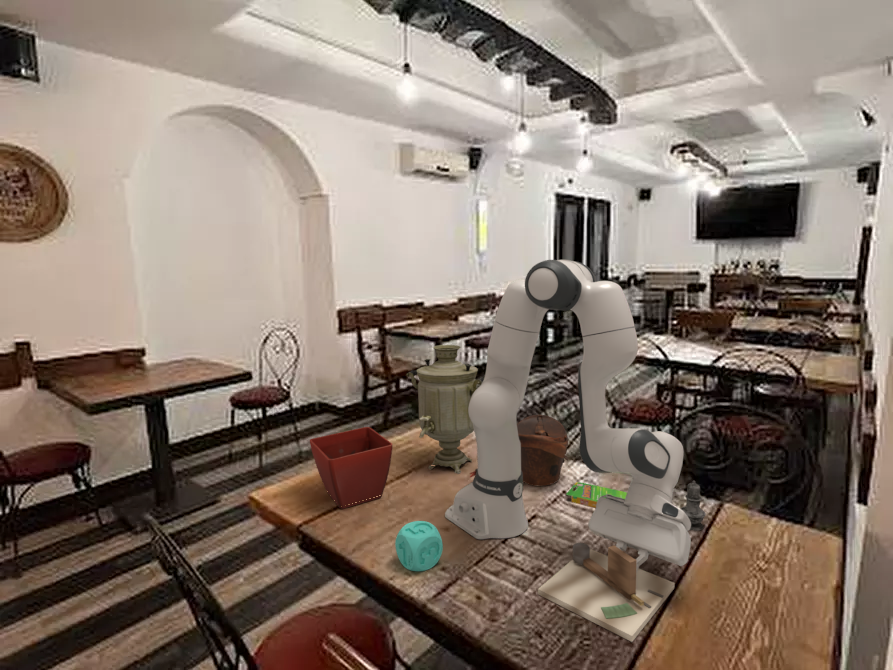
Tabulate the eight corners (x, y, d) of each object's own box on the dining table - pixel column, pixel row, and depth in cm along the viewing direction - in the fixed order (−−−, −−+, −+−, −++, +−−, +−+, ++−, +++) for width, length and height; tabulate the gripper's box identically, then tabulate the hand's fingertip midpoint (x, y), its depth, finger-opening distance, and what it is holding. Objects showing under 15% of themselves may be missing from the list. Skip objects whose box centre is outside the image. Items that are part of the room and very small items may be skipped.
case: (532, 497, 148) (532, 436, 146) (498, 471, 167) (497, 417, 164) (582, 485, 155) (583, 427, 153) (544, 462, 174) (545, 410, 171)
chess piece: (708, 532, 127) (710, 486, 126) (682, 530, 129) (684, 484, 127) (701, 519, 133) (703, 475, 131) (677, 518, 134) (678, 474, 133)
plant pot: (332, 518, 140) (328, 459, 138) (312, 492, 157) (308, 438, 154) (396, 499, 150) (394, 444, 147) (371, 476, 166) (368, 426, 164)
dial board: (537, 594, 106) (537, 588, 106) (586, 552, 121) (586, 546, 120) (632, 642, 93) (632, 635, 93) (674, 588, 107) (674, 582, 107)
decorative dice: (395, 560, 120) (394, 528, 119) (423, 547, 125) (422, 516, 124) (414, 576, 114) (413, 542, 113) (443, 562, 119) (442, 530, 117)
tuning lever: (569, 557, 116) (569, 524, 114) (582, 553, 117) (582, 520, 116) (635, 609, 98) (636, 571, 97) (649, 603, 100) (650, 565, 99)
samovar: (384, 466, 174) (378, 349, 168) (442, 445, 191) (438, 338, 185) (444, 494, 152) (440, 360, 146) (503, 467, 170) (501, 347, 164)
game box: (640, 522, 135) (564, 501, 146) (648, 507, 143) (576, 487, 154) (641, 511, 135) (565, 491, 145) (649, 496, 143) (576, 478, 153)
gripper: (596, 486, 116) (574, 545, 110) (692, 514, 102) (673, 584, 96) (605, 497, 120) (585, 555, 114) (699, 526, 106) (681, 594, 100)
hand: (626, 569), depth 105 cm, fingers closed
